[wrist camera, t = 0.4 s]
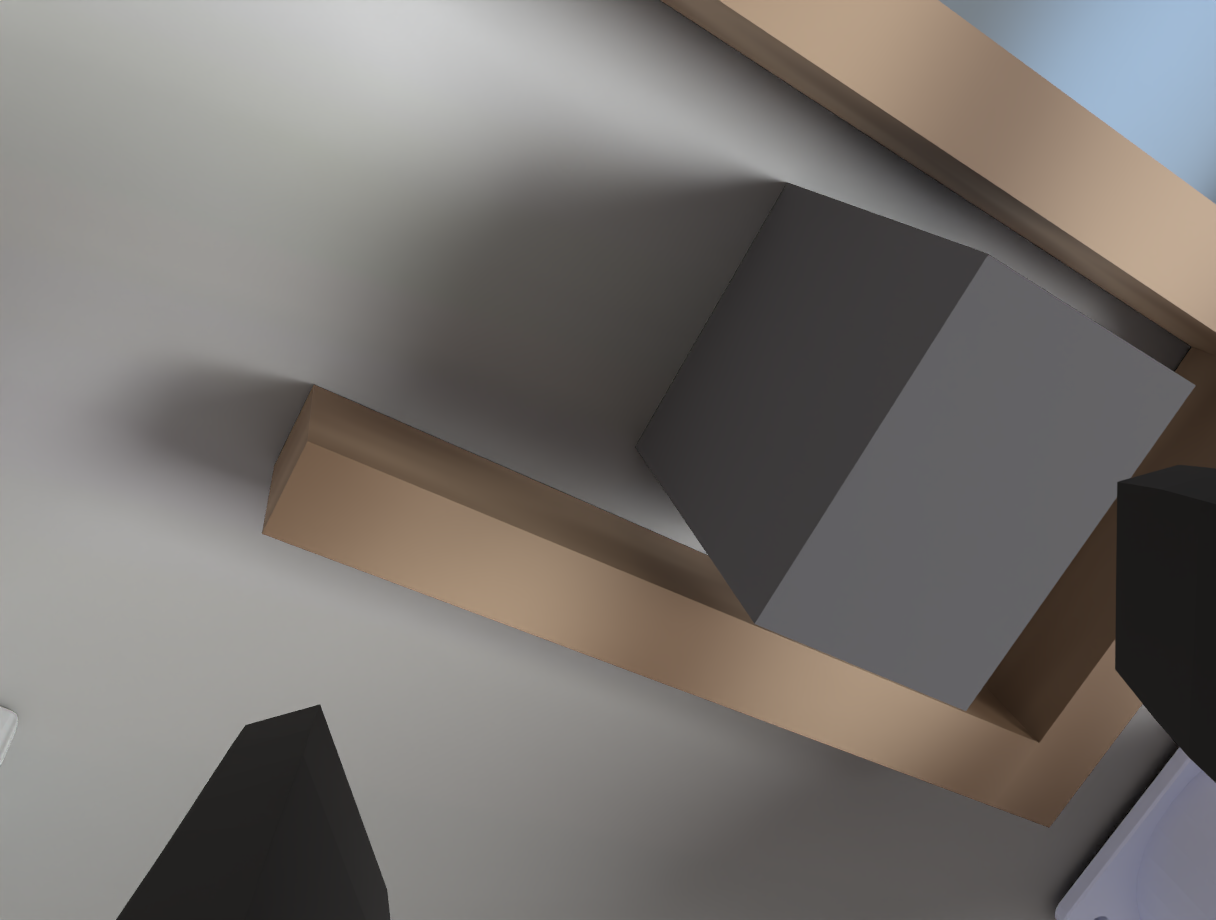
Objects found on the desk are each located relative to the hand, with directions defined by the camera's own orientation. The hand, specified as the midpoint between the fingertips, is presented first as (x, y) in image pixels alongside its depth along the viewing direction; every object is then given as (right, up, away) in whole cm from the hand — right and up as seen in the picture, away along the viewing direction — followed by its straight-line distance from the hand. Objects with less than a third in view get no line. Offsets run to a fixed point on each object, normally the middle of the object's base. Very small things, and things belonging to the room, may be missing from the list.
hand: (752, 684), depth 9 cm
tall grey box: (+2, +4, +9) cm, 10 cm away
